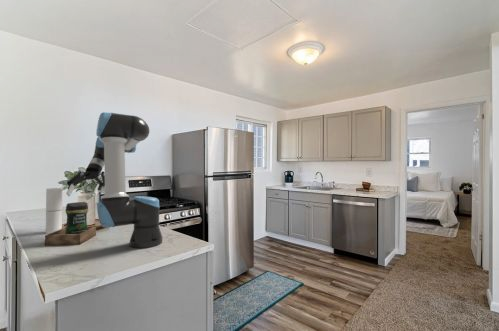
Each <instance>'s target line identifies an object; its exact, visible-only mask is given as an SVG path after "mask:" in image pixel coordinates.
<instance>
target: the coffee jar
mask: <svg viewBox="0 0 499 331" xmlns="http://www.w3.org/2000/svg"><path fill="white" fill-rule="evenodd" d="M65 206H66V207H65V213H66V225H65V226H66V230H65V234H80V233H82V232H84V231H86V230H88V222H87V218H88V217H87V213H88V212H89V204H88V202H85V201H81V202H80V201H78V202H68V203H67V204H66V205H65Z"/></svg>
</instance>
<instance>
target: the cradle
mask: <svg viewBox="0 0 499 331" xmlns="http://www.w3.org/2000/svg"><path fill="white" fill-rule="evenodd" d="M65 230H66V227H62V229H60V230H57V231H55V232H53V233H50V234H46V235H44V246H70V245H74V246H75V245H76V246H77V245H82V244H84V243H85V242H87V241H88V240H90V239H92V238H94V237H96V235H97V226H93V227H90V228H87V230H86V231H84V232H82V233H80V234H65Z"/></svg>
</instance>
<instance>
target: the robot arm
mask: <svg viewBox="0 0 499 331" xmlns="http://www.w3.org/2000/svg"><path fill="white" fill-rule="evenodd" d="M96 126H97V127H96V137H97V138H96V140H95V141H96V142H95V147H94V152H93V156H92V158H91V159H90V162H89V164H88V165H87V167H86V169H85V171H84V172H82V171H81V170H79V172H78V173H77V174H75V175H74V176H73V177H72V178H70V179H69V180H67V182H66V185H67V186H68V187H67V191H66V195H67V196H68V197H71V195H72V193H73V191H74V189H75V187H76V186H77V185H79V184H80V183H82V182H84V181H87V180H95V181H96V182H97V185H96V186H95V188H94V190H93V194H94V196H95V197H96V196H98V194H99V191H101V190H102V188H103V186H104V195H103V196H102V197H101V198H100V201H99V202H97V203H96V208H97V210H96V211H97V216H98V217H97V218H98V221H99V224H100V226H101V227H103V228H115V227H120V226H129V225H130V226H131V225H133V230H132V233H131V236H130V238H129V246H130V247H132V248H134V249H135V248H136V249H145V248H152V246H153V247H155V246H158V244H159V245H160V243H161V242H162V241H163V239H164V238H163V234H162V232H161V229H160V209H161V208H160V207H161V206H160V200H159V199H158V197H152V196H141V195H139V196H134V197H133V199H130V195H129V194H127V190H126V189H127V188H126V158H125V156H126V154H125V153H128V154H130V153H136V149H137V145H138V143H140V142H142V141H144V140H146V139H147V138H149V134H150V127H149V125H148V123H147V122H146V121H145V120H144V119H143V118H141V117H139V116H137V115H130V114H123V113H122V114H121V113H114V112H104V111H103V112H101V113H100V115H99V117H98V121H97V125H96ZM103 168H104V170H103ZM102 170H103V171H102ZM99 176H100V177H101V179H102V181H101V180H100V178H99ZM162 243H163V242H162ZM162 243H161V244H162Z"/></svg>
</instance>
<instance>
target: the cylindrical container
mask: <svg viewBox="0 0 499 331" xmlns="http://www.w3.org/2000/svg"><path fill="white" fill-rule="evenodd" d="M45 194H46V195H45V198H46V199H45V234H46V235H48V234H50V233H53V232H55V231H57V230H60V229H62V228H63V227H62V225H63V224H62V223H63V188H62V187H52V188H51V187H50V188H46V191H45Z"/></svg>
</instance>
